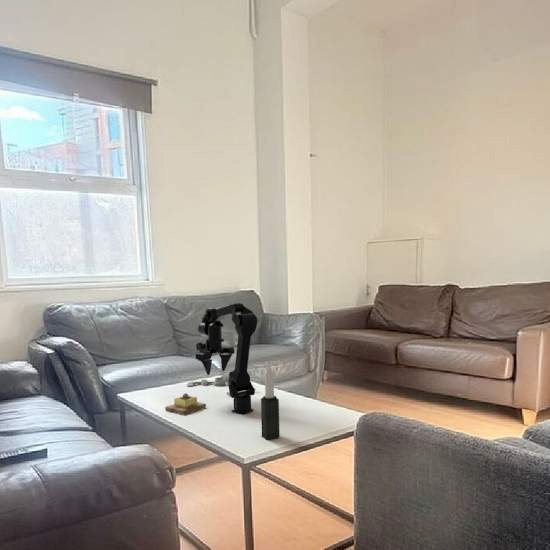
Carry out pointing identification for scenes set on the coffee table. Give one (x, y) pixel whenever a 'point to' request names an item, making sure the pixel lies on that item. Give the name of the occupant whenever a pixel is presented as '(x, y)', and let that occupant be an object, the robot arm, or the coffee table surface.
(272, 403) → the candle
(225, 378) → the pulley system
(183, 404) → the brass square frame
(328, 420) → the coffee table surface
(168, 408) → the brown base plate
